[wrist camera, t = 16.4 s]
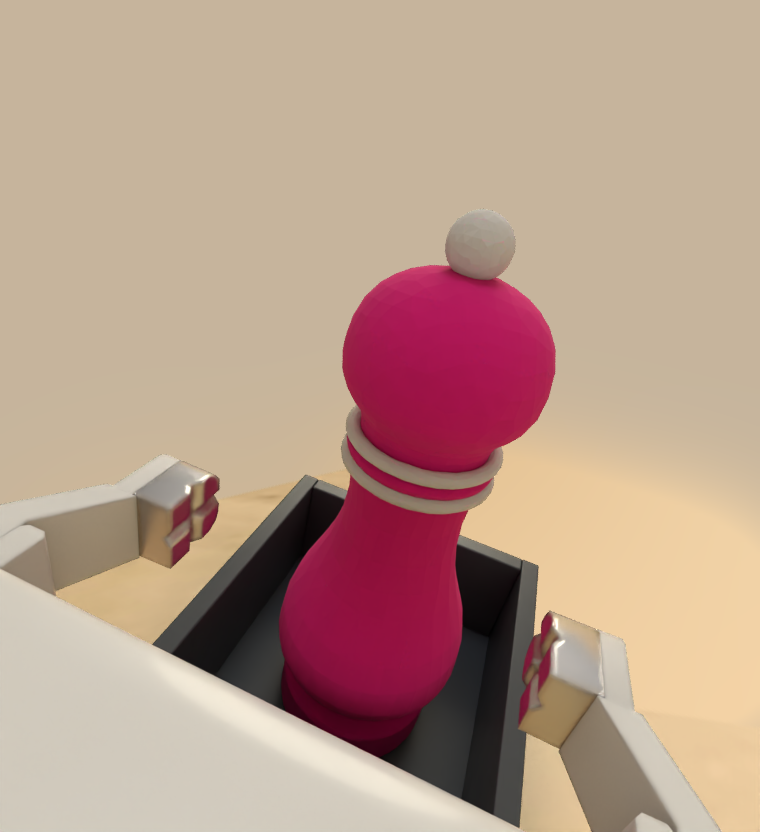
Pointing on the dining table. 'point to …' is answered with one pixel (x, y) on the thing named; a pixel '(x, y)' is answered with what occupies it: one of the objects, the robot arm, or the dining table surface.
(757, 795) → the dining table surface
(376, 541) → the pepper mill
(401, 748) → the bin
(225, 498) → the dining table surface
